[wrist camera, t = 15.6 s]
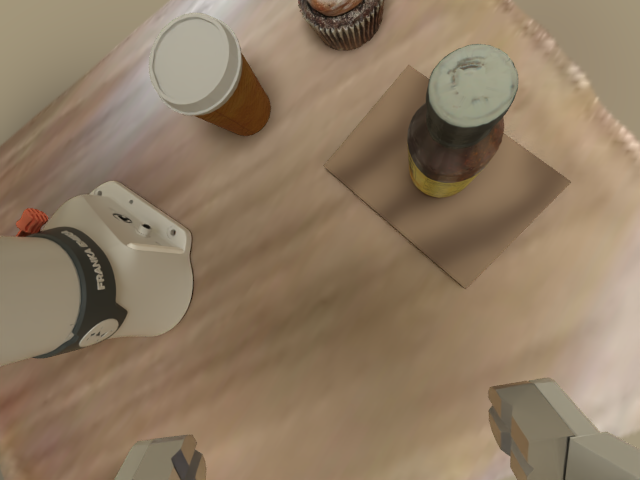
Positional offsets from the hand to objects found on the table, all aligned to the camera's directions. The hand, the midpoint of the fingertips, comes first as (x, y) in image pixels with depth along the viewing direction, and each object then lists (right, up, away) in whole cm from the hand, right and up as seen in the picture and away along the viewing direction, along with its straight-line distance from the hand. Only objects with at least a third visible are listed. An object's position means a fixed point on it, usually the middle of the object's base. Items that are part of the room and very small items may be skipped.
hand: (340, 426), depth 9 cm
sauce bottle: (+12, +12, +26) cm, 31 cm away
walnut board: (+12, +12, +27) cm, 32 cm away
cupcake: (+3, +31, +31) cm, 44 cm away
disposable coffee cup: (-10, +21, +34) cm, 41 cm away
